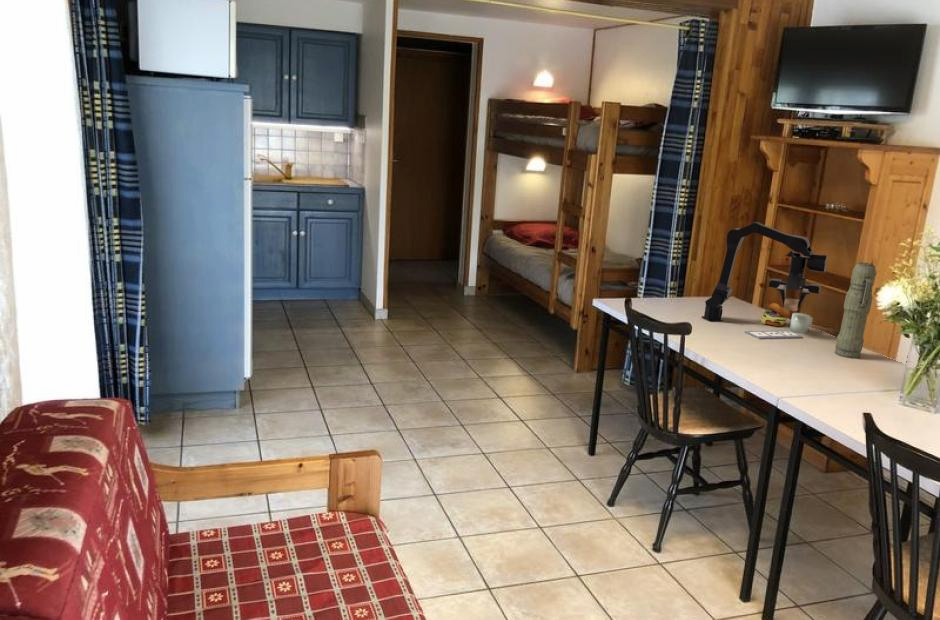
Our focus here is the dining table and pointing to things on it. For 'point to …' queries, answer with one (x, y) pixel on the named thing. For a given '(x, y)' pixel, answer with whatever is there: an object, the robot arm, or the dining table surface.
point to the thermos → (856, 311)
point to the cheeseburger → (775, 315)
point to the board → (773, 334)
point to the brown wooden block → (791, 304)
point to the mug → (800, 323)
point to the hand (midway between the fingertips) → (791, 306)
